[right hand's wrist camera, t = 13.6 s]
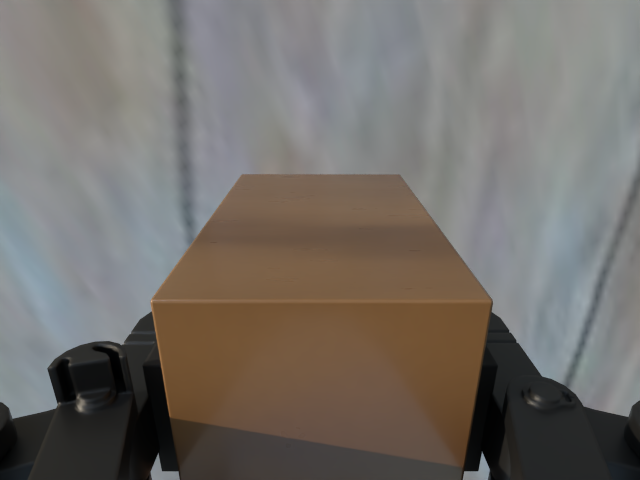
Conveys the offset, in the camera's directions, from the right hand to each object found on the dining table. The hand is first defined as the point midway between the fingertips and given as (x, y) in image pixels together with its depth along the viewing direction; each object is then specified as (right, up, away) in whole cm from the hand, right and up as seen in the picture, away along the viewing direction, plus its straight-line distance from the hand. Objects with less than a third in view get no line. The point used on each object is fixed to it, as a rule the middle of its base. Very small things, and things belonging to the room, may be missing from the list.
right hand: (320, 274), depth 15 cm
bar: (0, -10, +5) cm, 11 cm away
